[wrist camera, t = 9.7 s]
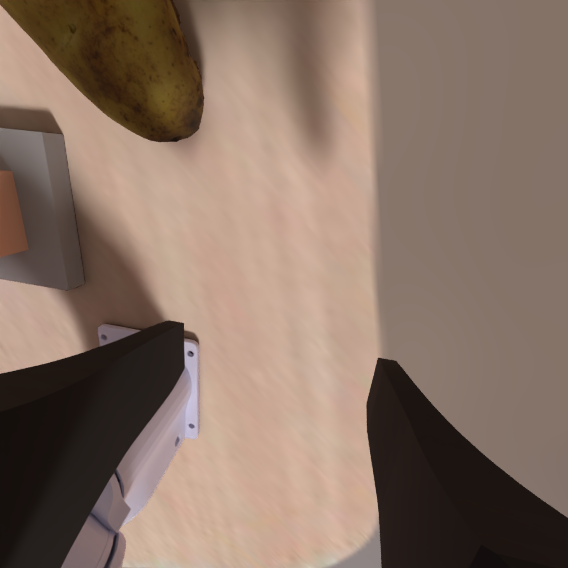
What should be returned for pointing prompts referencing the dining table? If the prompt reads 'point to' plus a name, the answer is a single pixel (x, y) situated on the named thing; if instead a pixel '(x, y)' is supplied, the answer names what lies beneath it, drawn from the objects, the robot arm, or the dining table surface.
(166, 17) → the potato
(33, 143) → the slate board
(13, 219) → the terracotta block
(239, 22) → the dining table surface
